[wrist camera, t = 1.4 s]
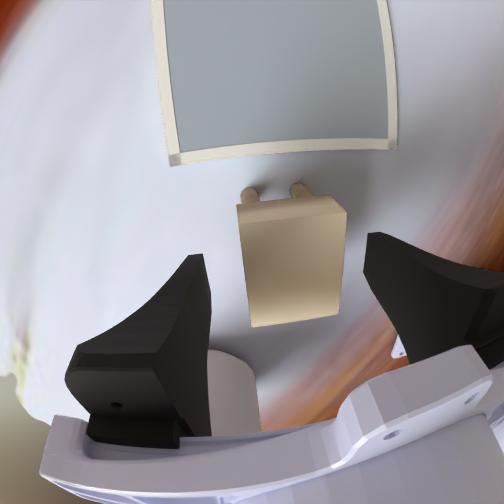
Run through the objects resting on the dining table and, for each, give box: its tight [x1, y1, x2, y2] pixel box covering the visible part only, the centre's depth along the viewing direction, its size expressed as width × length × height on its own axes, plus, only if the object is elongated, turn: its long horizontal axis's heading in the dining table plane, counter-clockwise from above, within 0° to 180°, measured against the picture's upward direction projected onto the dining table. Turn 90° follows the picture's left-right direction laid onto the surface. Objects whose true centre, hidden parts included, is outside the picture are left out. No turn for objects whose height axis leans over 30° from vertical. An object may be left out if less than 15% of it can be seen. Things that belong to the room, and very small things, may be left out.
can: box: [207, 349, 262, 436], centre depth 16 cm, size 8×8×12 cm
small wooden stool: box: [236, 183, 347, 327], centre depth 14 cm, size 5×4×5 cm
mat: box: [151, 0, 397, 167], centre depth 11 cm, size 12×12×1 cm
